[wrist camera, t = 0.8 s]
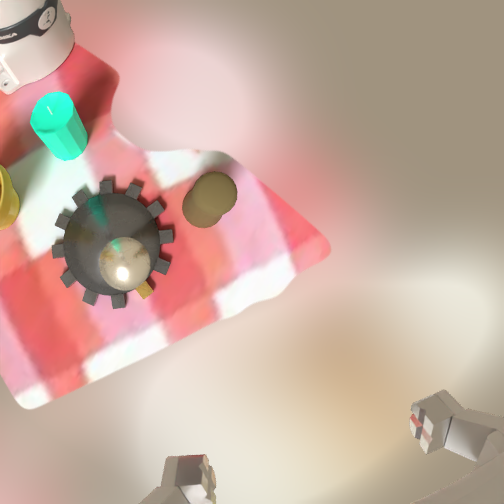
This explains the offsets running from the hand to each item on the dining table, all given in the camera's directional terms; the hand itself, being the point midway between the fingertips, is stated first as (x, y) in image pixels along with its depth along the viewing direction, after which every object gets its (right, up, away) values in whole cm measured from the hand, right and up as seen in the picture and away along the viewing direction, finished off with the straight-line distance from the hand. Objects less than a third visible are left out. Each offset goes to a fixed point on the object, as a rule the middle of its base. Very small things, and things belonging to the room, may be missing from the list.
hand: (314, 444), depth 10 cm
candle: (-29, +23, +30) cm, 48 cm away
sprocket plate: (-22, +8, +31) cm, 39 cm away
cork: (-9, +14, +35) cm, 39 cm away
